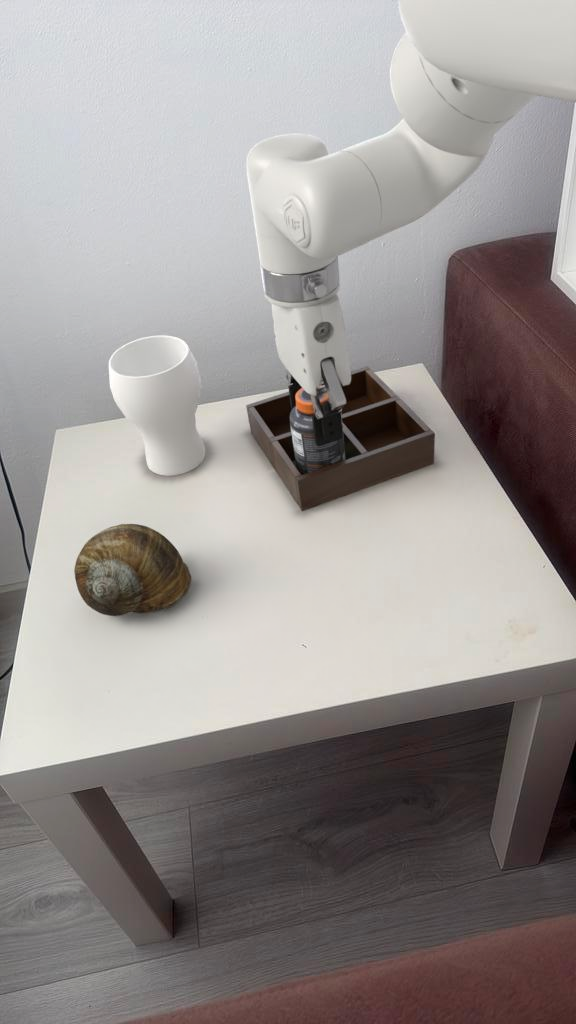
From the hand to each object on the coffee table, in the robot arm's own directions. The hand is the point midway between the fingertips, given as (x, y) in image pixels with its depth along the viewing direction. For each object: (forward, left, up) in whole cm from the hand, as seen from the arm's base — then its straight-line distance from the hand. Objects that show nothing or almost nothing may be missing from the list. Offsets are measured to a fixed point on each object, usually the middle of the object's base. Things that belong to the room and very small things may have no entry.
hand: (316, 424), depth 84 cm
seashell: (-8, +25, -8) cm, 27 cm away
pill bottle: (0, 0, -7) cm, 7 cm away
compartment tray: (+4, -4, -8) cm, 10 cm away
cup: (+13, +15, -8) cm, 21 cm away
